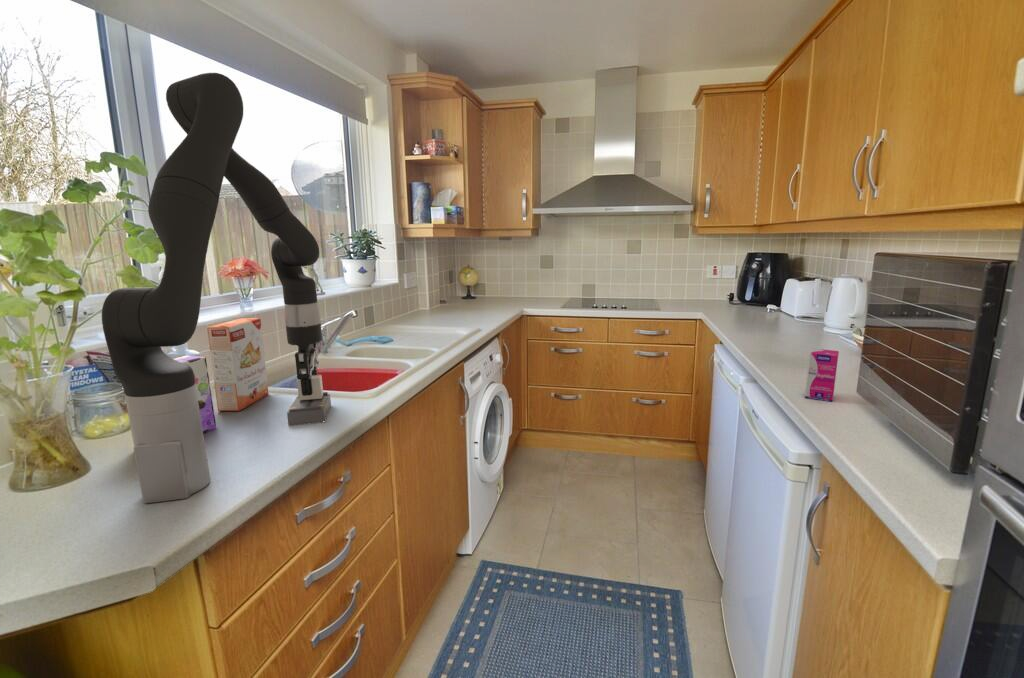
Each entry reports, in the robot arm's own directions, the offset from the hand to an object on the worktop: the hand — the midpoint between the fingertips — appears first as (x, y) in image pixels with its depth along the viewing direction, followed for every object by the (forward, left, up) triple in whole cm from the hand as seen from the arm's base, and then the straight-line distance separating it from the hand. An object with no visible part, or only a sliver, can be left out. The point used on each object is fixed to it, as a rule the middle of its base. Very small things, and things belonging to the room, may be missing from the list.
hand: (310, 389), depth 116 cm
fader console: (-3, 0, -5) cm, 6 cm away
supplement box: (-26, -120, -6) cm, 123 cm away
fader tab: (0, 0, -2) cm, 2 cm away
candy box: (-10, +25, -6) cm, 28 cm away
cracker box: (+12, +18, -6) cm, 22 cm away
